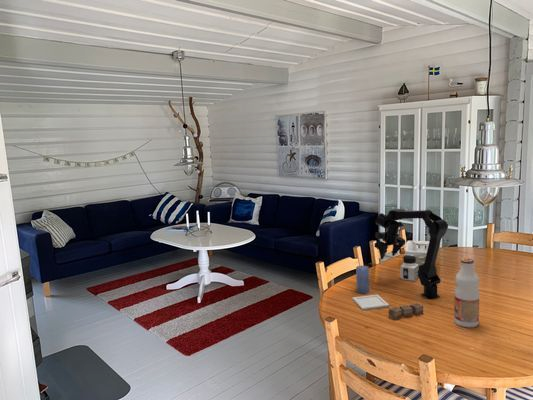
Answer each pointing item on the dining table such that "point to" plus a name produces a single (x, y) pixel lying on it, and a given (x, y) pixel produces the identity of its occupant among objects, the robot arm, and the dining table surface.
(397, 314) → the walnut block
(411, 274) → the container
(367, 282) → the blue cylinder
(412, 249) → the storage basket
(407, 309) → the walnut block
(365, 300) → the tray
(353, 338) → the dining table surface
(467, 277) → the fruit juice
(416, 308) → the walnut block
